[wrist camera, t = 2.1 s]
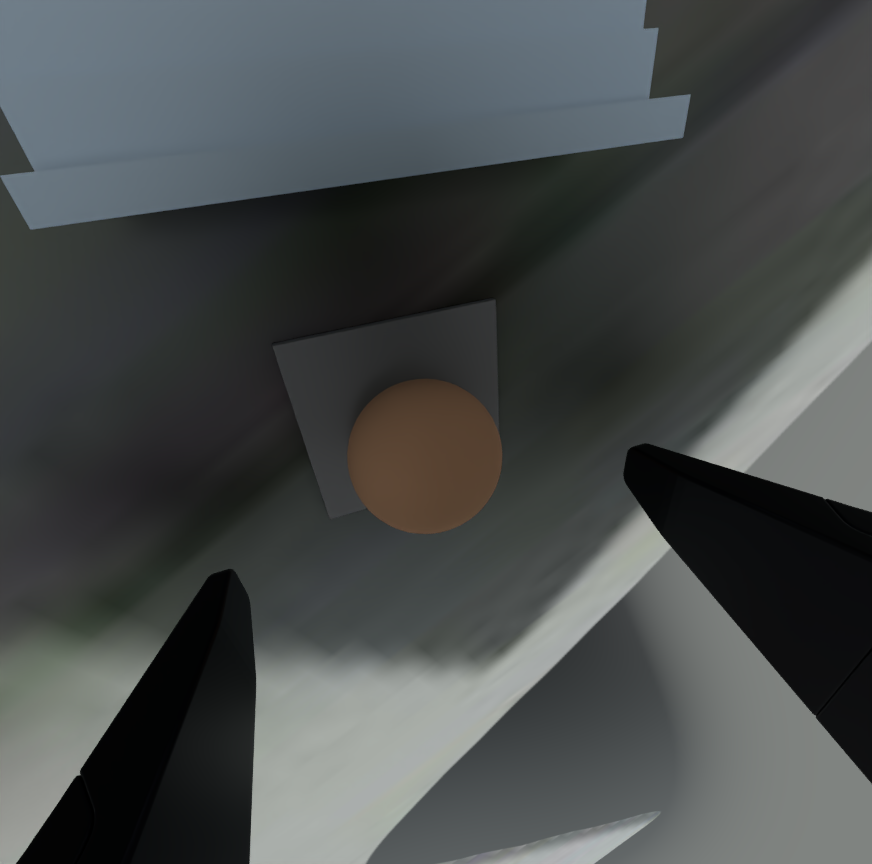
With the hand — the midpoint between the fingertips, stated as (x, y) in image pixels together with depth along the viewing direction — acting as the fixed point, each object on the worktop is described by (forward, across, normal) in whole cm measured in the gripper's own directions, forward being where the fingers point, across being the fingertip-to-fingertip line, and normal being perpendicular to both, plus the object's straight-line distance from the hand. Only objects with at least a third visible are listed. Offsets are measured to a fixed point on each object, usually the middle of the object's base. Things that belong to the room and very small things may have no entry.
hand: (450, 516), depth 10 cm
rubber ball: (+4, 0, 0) cm, 4 cm away
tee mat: (+4, 0, 0) cm, 5 cm away
